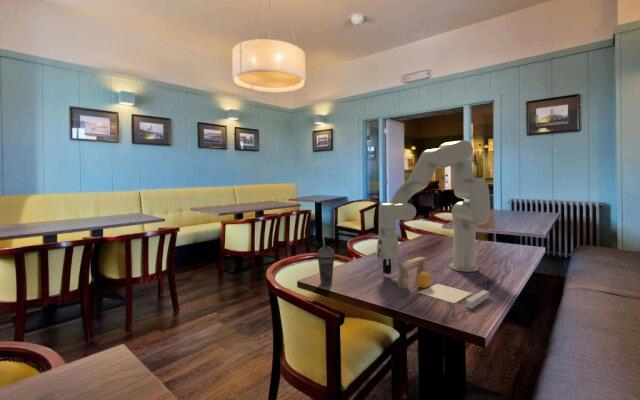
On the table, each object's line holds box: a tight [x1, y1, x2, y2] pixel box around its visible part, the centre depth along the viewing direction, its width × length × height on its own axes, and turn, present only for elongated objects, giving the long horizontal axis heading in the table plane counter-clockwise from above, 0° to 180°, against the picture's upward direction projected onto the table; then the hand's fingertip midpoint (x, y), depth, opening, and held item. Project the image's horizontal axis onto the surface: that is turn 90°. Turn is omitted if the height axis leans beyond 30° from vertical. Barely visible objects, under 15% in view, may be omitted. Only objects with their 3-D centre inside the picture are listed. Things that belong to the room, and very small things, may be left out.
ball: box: [415, 272, 432, 289], centre depth 130 cm, size 6×6×6 cm
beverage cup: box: [317, 235, 336, 287], centre depth 134 cm, size 7×7×20 cm
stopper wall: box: [465, 289, 490, 310], centre depth 114 cm, size 14×2×2 cm, turn 131°
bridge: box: [398, 256, 427, 290], centre depth 134 cm, size 3×15×10 cm, turn 131°
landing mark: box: [418, 283, 473, 304], centre depth 124 cm, size 14×14×1 cm
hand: (387, 273), depth 144 cm, fingers closed
